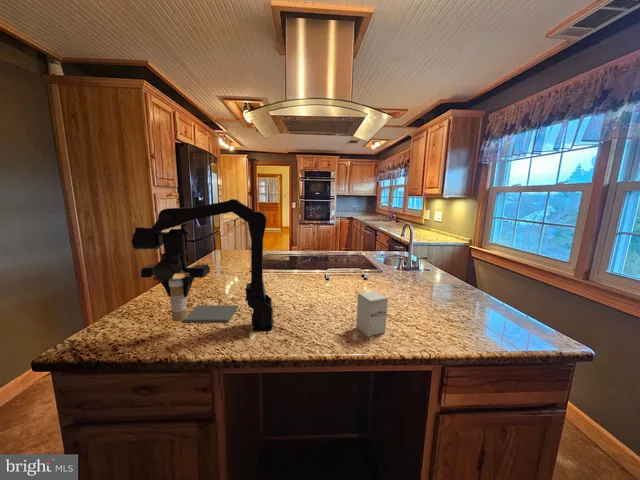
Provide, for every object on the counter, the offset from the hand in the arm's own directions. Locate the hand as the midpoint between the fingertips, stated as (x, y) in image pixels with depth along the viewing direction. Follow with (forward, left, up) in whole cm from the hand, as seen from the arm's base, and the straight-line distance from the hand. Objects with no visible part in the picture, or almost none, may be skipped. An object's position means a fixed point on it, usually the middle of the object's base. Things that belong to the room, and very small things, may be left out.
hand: (178, 296), depth 79 cm
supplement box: (-63, -1, -13) cm, 64 cm away
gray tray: (-5, -13, -12) cm, 19 cm away
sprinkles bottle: (0, 0, -8) cm, 8 cm away
